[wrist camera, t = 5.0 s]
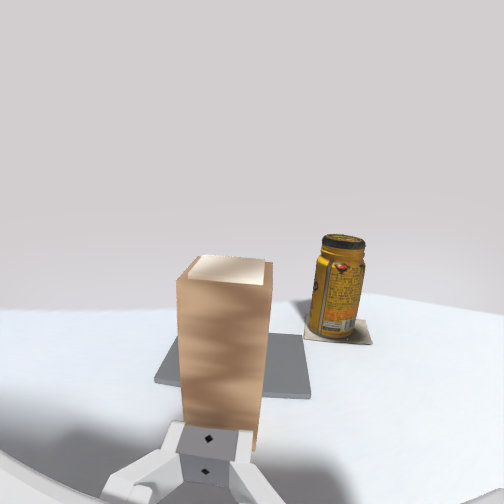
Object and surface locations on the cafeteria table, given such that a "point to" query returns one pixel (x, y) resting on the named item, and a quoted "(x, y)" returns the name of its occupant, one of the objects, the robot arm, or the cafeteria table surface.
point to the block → (223, 340)
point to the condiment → (338, 292)
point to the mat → (276, 368)
